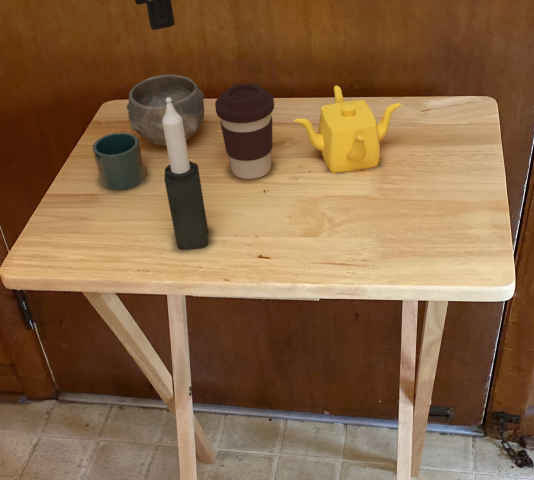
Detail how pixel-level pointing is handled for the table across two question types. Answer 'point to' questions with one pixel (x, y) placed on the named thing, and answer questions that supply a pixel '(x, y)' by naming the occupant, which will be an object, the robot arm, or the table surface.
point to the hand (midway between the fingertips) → (154, 14)
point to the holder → (119, 161)
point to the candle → (183, 186)
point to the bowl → (164, 106)
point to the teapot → (348, 134)
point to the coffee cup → (247, 129)
